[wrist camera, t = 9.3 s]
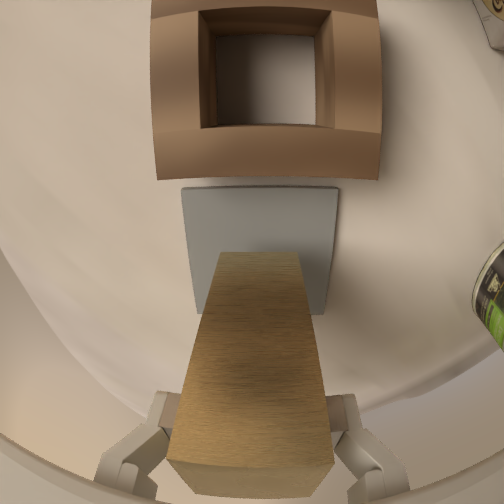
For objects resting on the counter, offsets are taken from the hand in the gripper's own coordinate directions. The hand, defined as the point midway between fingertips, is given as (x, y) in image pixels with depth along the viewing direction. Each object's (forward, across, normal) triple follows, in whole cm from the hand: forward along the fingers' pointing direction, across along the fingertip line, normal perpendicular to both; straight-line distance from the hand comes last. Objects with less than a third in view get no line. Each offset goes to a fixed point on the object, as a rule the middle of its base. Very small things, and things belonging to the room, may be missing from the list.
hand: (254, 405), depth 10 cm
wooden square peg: (+9, 0, 0) cm, 9 cm away
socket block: (+12, 0, -12) cm, 17 cm away
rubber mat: (+12, 0, 0) cm, 12 cm away
